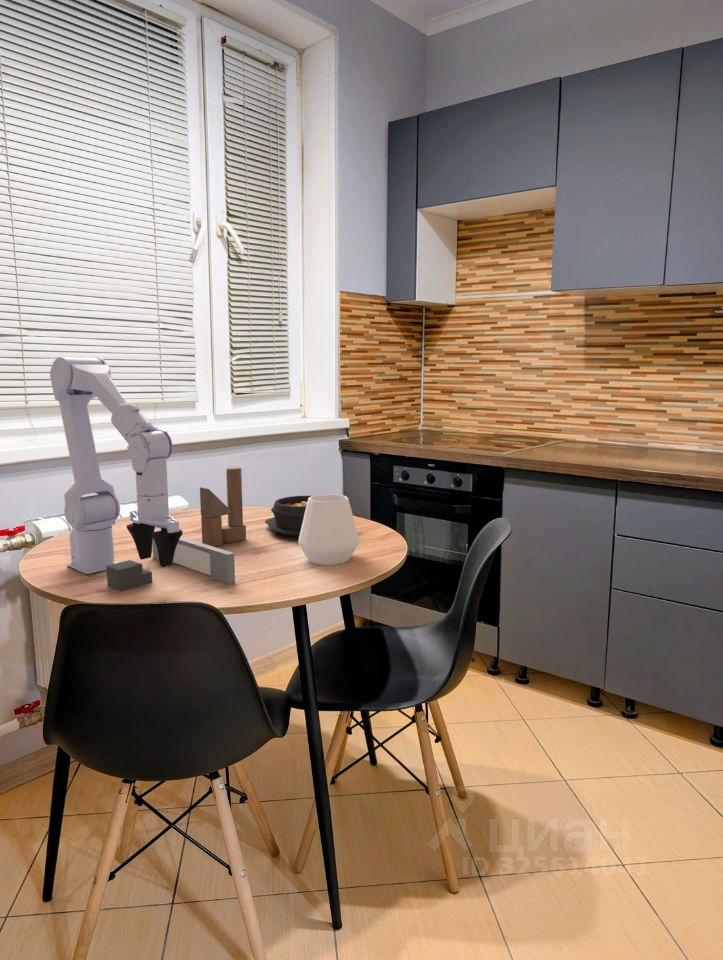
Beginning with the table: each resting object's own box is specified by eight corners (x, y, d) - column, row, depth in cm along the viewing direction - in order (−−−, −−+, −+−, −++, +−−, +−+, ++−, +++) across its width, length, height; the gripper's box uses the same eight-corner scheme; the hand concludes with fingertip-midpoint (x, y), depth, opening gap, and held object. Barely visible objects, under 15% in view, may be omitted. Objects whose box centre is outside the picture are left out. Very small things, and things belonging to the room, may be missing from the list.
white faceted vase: (358, 550, 156) (358, 491, 154) (359, 567, 143) (359, 503, 141) (300, 551, 156) (299, 492, 154) (296, 568, 143) (295, 503, 140)
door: (169, 560, 147) (168, 540, 146) (173, 559, 148) (172, 539, 147) (210, 575, 136) (209, 553, 136) (215, 574, 137) (214, 552, 137)
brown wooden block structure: (201, 545, 161) (198, 471, 158) (237, 536, 169) (235, 466, 166) (210, 548, 159) (207, 472, 156) (246, 539, 167) (244, 467, 164)
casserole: (363, 536, 170) (363, 503, 169) (302, 548, 158) (302, 513, 157) (306, 519, 189) (305, 489, 188) (248, 529, 177) (247, 498, 176)
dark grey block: (107, 587, 131) (106, 565, 130) (140, 579, 136) (138, 557, 135) (119, 592, 128) (118, 570, 127) (152, 583, 133) (151, 562, 132)
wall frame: (153, 557, 151) (151, 531, 150) (159, 555, 152) (158, 530, 151) (228, 584, 132) (227, 554, 131) (235, 582, 133) (234, 552, 132)
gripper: (114, 491, 131) (118, 559, 133) (153, 502, 121) (157, 574, 123) (147, 486, 136) (150, 551, 138) (187, 496, 126) (190, 566, 129)
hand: (155, 562), depth 131 cm, fingers open, 7 cm apart
